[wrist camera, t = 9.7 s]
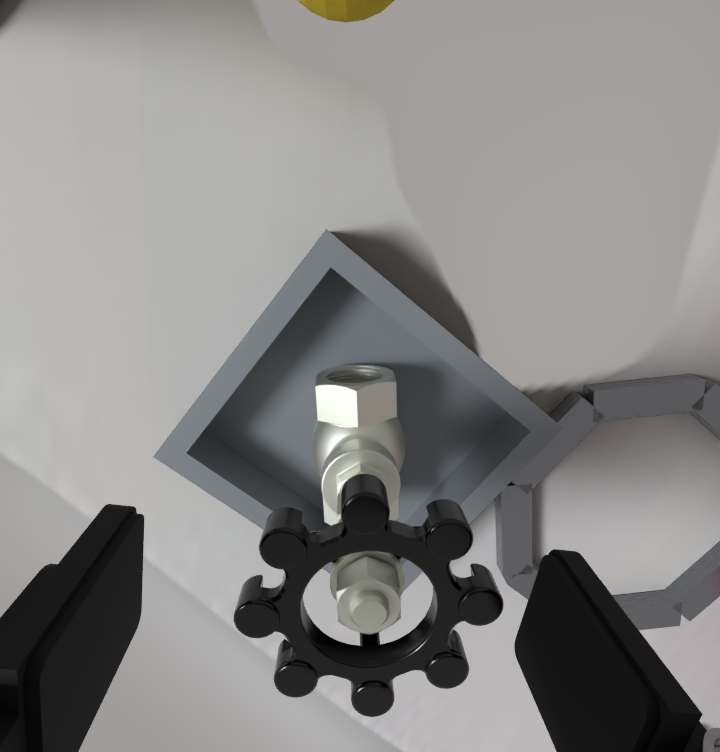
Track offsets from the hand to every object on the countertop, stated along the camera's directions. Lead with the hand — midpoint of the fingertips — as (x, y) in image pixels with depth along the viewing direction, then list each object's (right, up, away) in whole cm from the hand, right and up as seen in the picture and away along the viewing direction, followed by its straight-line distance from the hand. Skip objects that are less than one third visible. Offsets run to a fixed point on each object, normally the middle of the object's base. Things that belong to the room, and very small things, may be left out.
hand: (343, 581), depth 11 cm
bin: (0, +3, +13) cm, 13 cm away
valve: (0, +2, +12) cm, 13 cm away
